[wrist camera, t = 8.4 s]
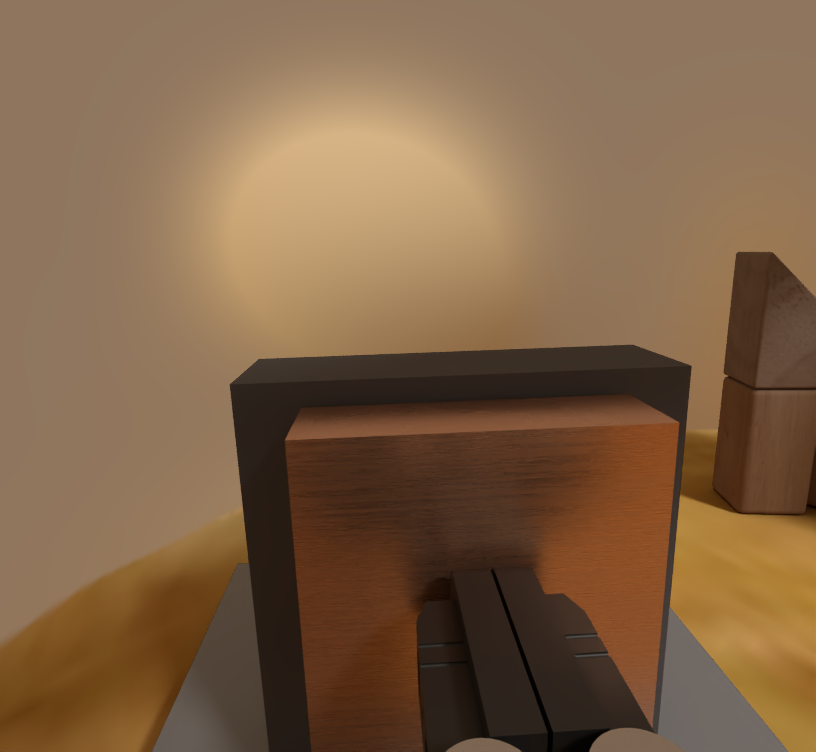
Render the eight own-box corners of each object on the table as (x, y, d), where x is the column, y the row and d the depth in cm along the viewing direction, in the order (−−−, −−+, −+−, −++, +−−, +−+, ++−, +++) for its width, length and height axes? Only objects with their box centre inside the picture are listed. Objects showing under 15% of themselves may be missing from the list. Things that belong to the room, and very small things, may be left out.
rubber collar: (610, 674, 17) (632, 344, 14) (655, 756, 14) (691, 365, 12) (290, 695, 16) (258, 358, 14) (272, 783, 14) (229, 384, 11)
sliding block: (501, 473, 25) (503, 323, 23) (651, 744, 11) (679, 422, 10) (350, 481, 24) (341, 329, 23) (312, 767, 11) (285, 440, 9)
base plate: (615, 572, 25) (617, 543, 24) (1098, 1226, 8) (1125, 1162, 8) (241, 594, 24) (237, 563, 24) (-72, 1363, 7) (-99, 1300, 7)
